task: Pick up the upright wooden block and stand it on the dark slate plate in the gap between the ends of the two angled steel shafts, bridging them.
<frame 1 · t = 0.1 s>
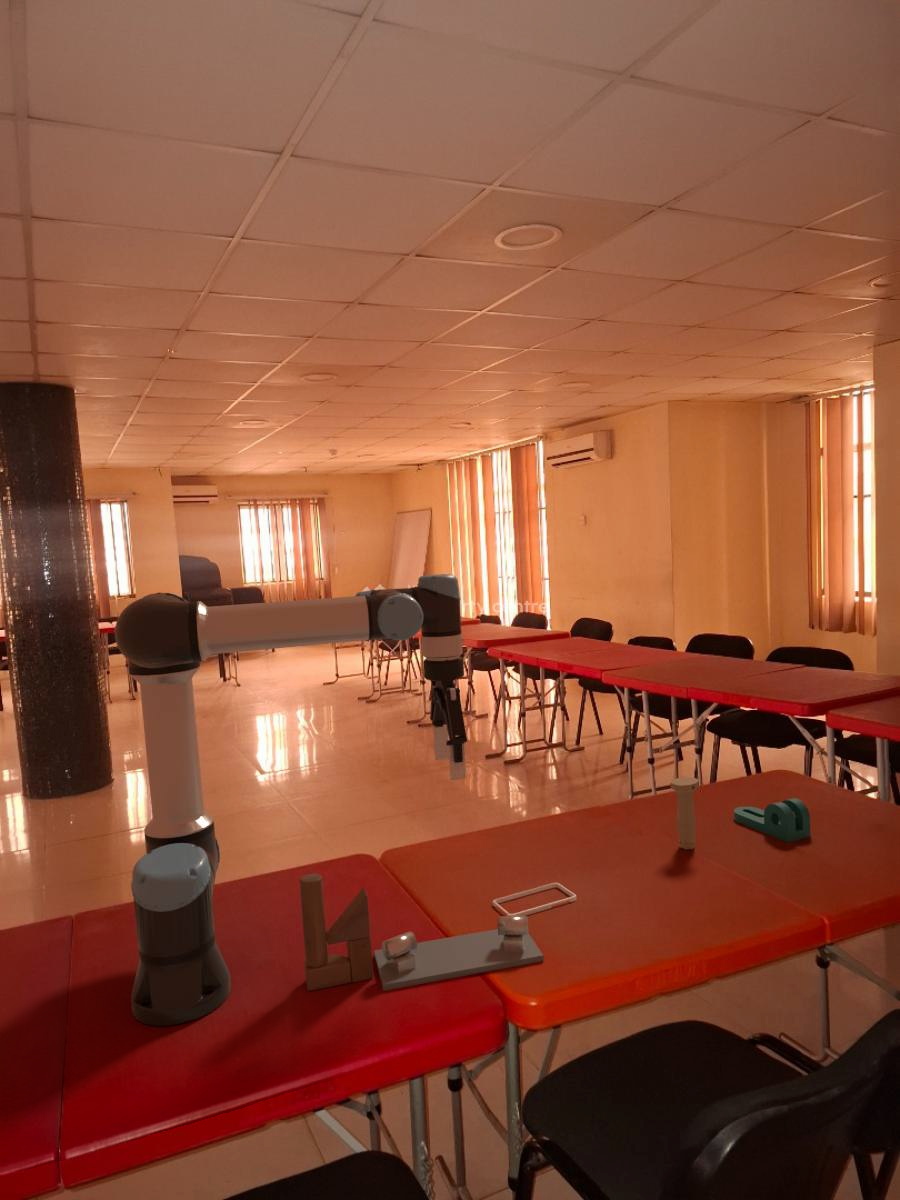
hand: (449, 768, 148), 28 cm above the table, tool pointing down, fingers open, 13 cm apart
handle: (687, 848, 173), on the table
right shaft: (514, 951, 134), resting on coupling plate
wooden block: (339, 981, 129), on the table
left shaft: (401, 971, 130), resting on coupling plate
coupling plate: (457, 958, 133), on the table
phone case: (534, 905, 152), on the table
bracket: (767, 828, 182), on the table
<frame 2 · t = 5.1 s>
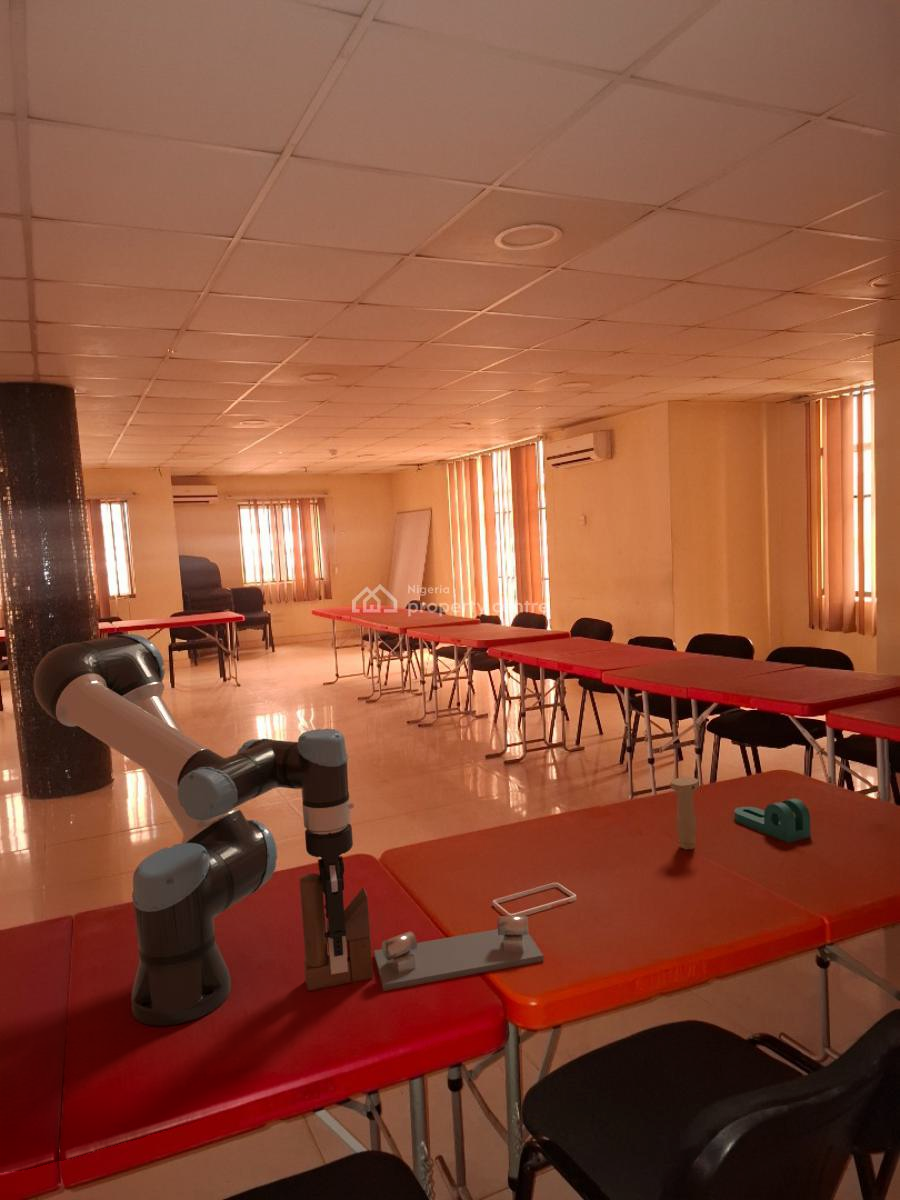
hand: (338, 964, 129), 3 cm above the table, tool pointing down, fingers closed on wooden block, 4 cm apart
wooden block: (339, 980, 129), on the table, touching gripper
everything else where it was.
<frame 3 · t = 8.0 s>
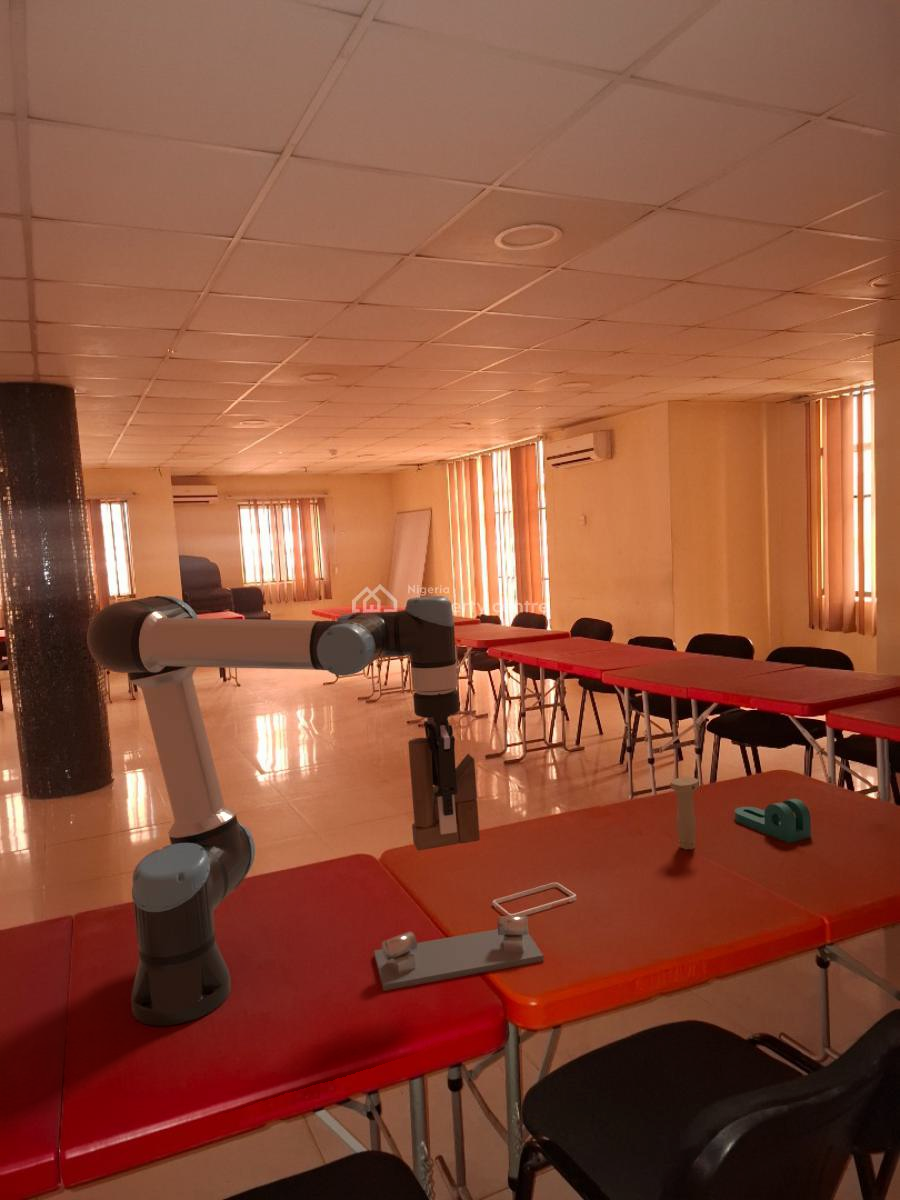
hand: (445, 827, 131), 23 cm above the table, tool pointing down, fingers closed on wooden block, 4 cm apart
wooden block: (446, 843, 131), point 20 cm above the table, touching gripper
everything else where it was.
when the fingers open (5 cm above the table, at t = 11.2 s): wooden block drops 1 cm, resting on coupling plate.
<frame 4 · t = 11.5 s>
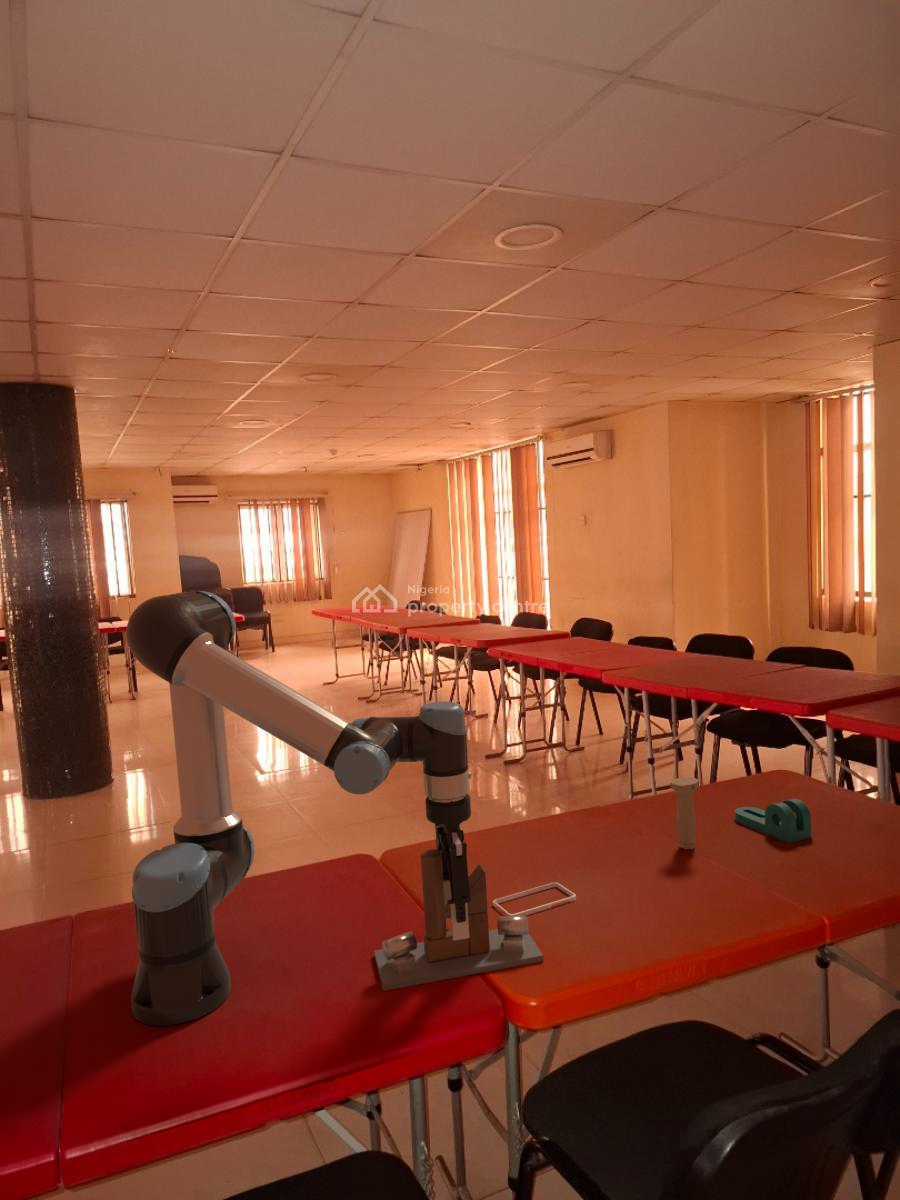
hand: (455, 927, 133), 6 cm above the table, tool pointing down, fingers open, 7 cm apart
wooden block: (457, 953, 133), point 1 cm above the table, touching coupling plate
everything else where it was.
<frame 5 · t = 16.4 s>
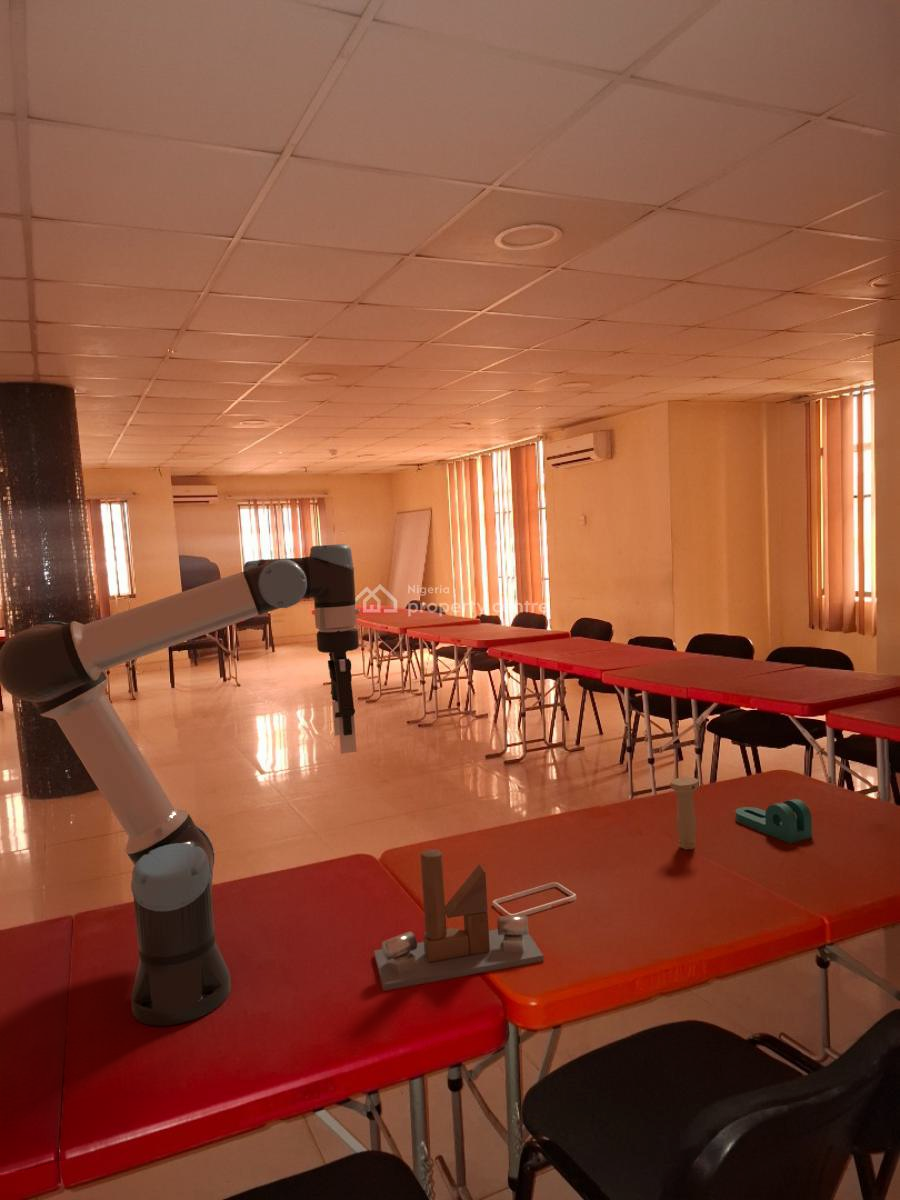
hand: (345, 743, 145), 35 cm above the table, tool pointing down, fingers open, 13 cm apart
nothing on the table moved.
at the end: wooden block 0.0 cm from the target spot, point 0.8 cm above the table; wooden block tilted 0°; the gripper is holding nothing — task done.
